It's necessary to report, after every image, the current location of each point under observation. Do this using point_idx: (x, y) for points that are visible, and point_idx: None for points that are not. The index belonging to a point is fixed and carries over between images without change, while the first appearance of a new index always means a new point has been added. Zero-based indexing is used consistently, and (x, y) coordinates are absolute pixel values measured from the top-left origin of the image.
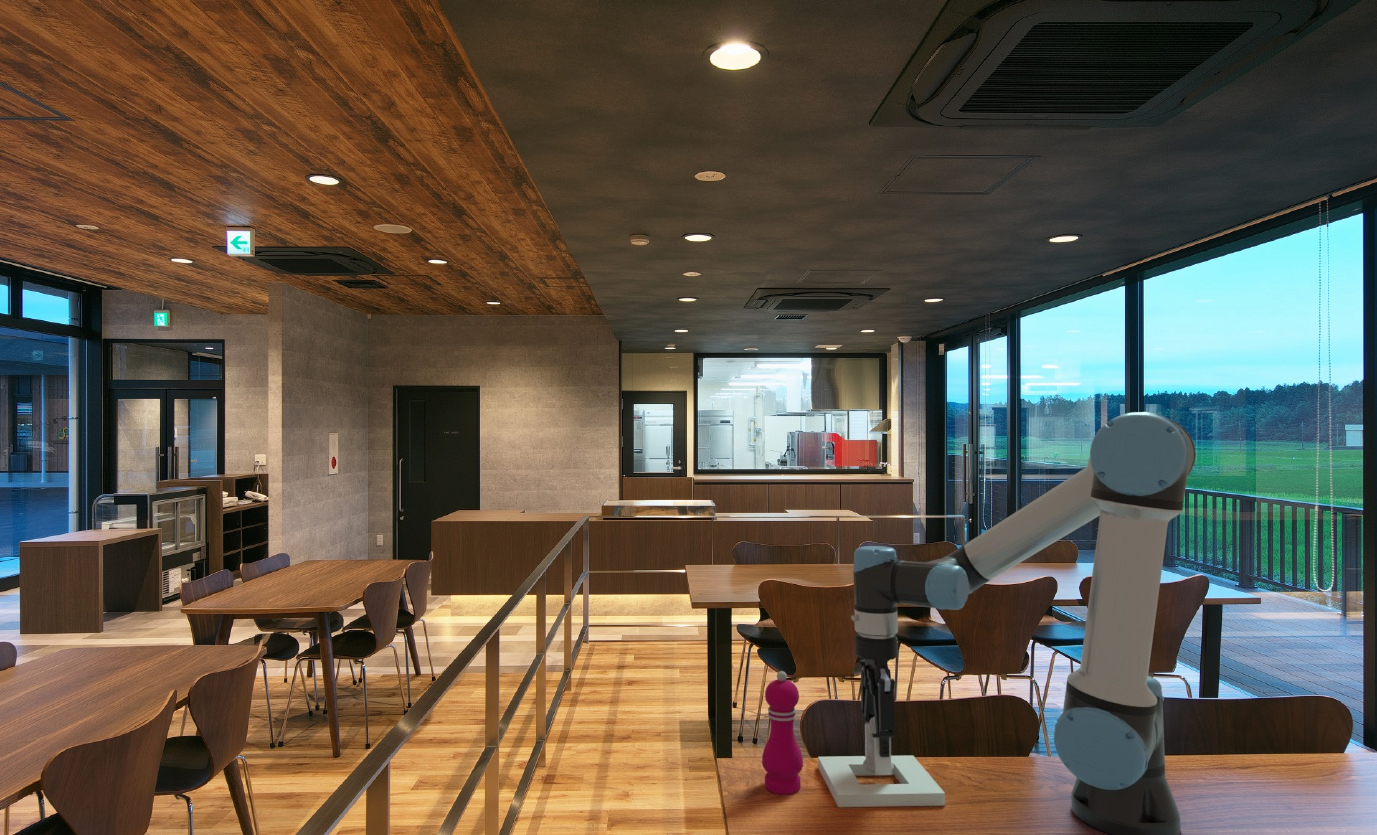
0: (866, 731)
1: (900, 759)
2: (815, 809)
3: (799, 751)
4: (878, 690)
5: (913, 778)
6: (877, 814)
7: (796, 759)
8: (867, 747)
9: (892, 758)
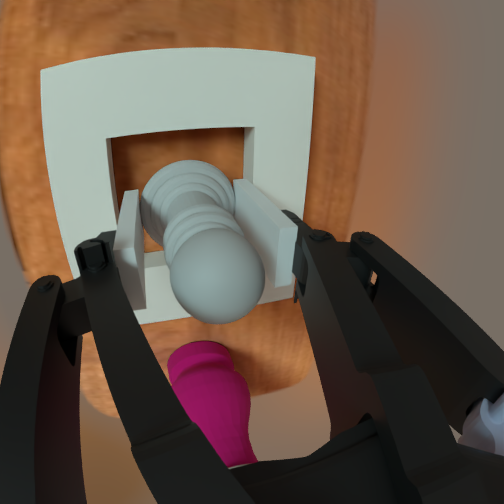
0: (144, 288)
1: (71, 113)
2: (284, 315)
3: (229, 398)
4: (452, 421)
5: (219, 103)
6: (318, 218)
7: (244, 391)
8: (143, 252)
9: (64, 138)
